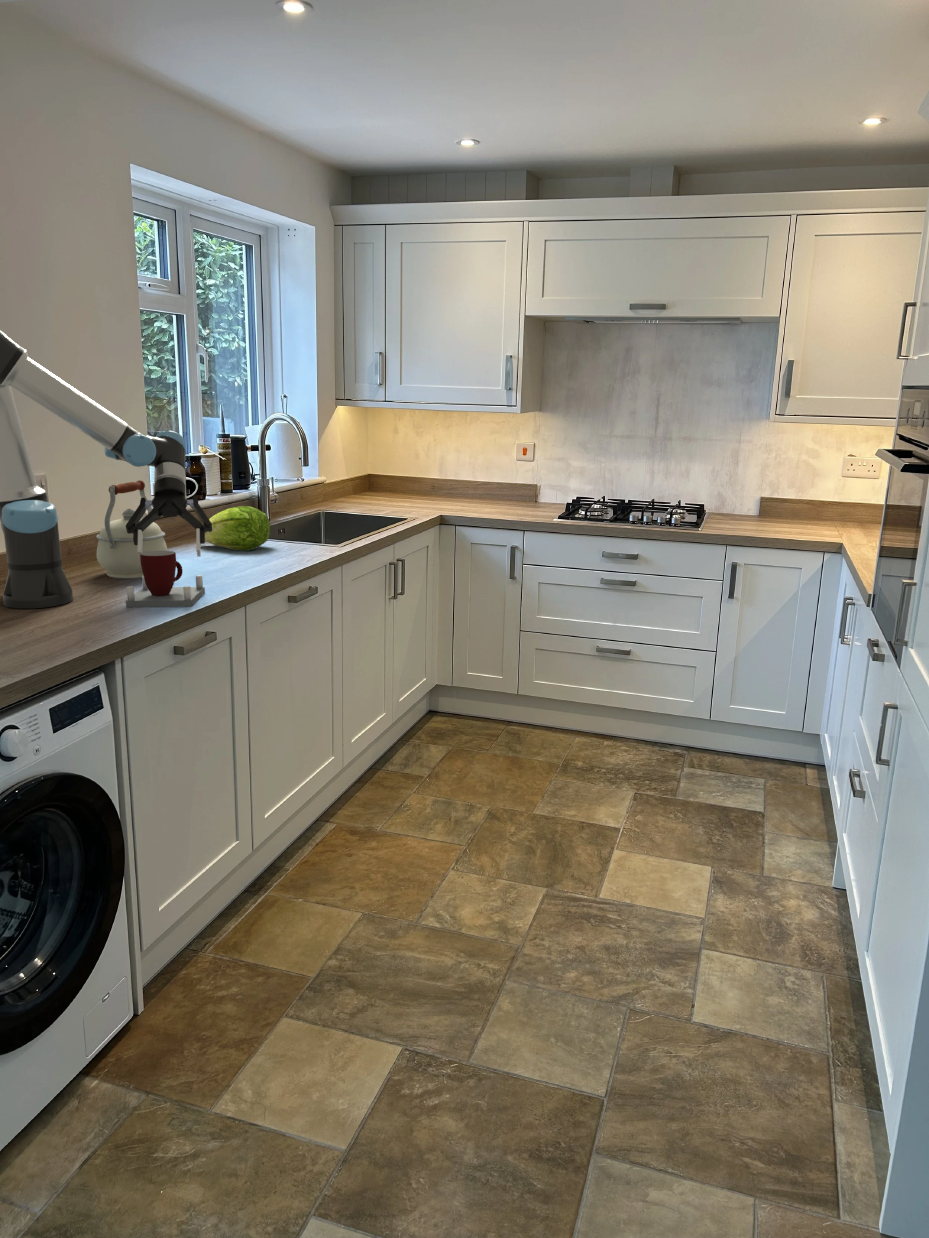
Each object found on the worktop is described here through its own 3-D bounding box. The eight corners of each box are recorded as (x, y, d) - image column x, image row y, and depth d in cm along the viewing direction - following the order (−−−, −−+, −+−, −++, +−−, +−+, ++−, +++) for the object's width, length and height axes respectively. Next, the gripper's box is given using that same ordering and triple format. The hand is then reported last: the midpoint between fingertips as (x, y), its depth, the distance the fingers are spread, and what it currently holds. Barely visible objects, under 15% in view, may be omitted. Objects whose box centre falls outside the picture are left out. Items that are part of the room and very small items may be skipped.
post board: (126, 607, 216) (124, 588, 215) (143, 593, 231) (142, 575, 230) (191, 606, 217) (190, 587, 216) (204, 592, 232) (203, 575, 231)
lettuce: (213, 521, 308) (187, 503, 294) (278, 514, 300) (254, 496, 287) (209, 562, 304) (181, 546, 290) (274, 556, 296) (250, 539, 283)
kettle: (143, 583, 243) (136, 487, 237) (80, 580, 246) (71, 485, 240) (189, 566, 266) (184, 478, 260) (131, 563, 270) (124, 477, 264)
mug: (167, 588, 230) (164, 548, 228) (192, 591, 226) (190, 550, 224) (135, 595, 221) (132, 554, 218) (161, 599, 217) (158, 557, 215)
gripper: (221, 493, 241) (223, 561, 231) (120, 494, 236) (117, 564, 225) (219, 475, 235) (221, 543, 224) (115, 476, 229) (112, 546, 219)
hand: (169, 554), depth 225 cm, fingers open, 13 cm apart
